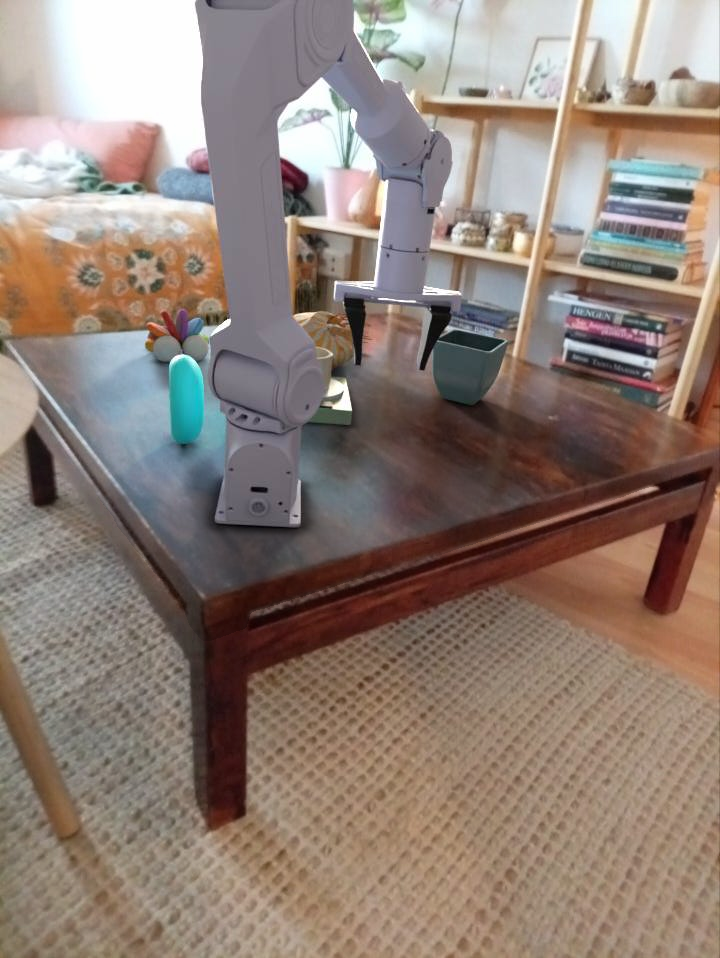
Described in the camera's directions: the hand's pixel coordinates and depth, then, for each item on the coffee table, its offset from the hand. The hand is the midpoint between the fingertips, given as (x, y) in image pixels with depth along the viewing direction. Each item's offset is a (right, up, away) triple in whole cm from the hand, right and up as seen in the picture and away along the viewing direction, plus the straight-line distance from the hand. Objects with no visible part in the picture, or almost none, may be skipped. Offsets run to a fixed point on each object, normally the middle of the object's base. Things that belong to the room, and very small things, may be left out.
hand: (389, 365), depth 84 cm
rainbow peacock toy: (-32, +5, +25) cm, 41 cm away
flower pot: (+12, -2, +21) cm, 24 cm away
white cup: (-10, -1, +11) cm, 15 cm away
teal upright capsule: (-21, -9, -2) cm, 23 cm away
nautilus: (-8, +5, +30) cm, 32 cm away
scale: (-11, -3, +12) cm, 16 cm away
